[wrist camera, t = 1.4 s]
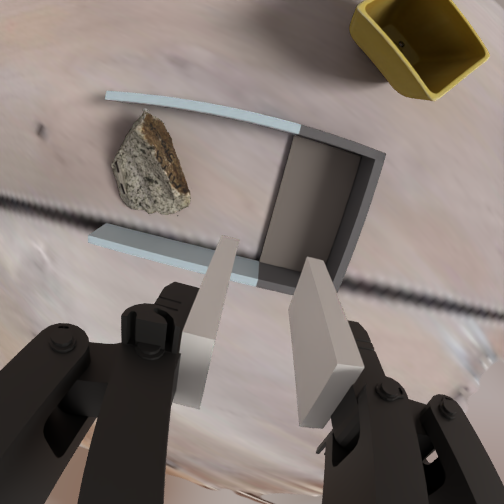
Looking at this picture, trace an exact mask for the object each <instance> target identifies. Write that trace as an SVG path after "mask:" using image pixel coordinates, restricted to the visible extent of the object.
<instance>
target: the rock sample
mask: <svg viewBox="0 0 504 504" xmlns="http://www.w3.org/2000/svg"><path fill="white" fill-rule="evenodd" d="M146 111H148V110H147V109H146V108H143V114H142V116H141V117H140V118H139V119H138V120H137V121H136V122H135V123H134V125H133V126H132V128H131V129H130V131H129V133H128V134H127V135H126V137H125V140H124V142H123V144H122V146H120V147H121V148H120V149H119V151H118V152H117V154H116V157H115V160H114V161H113V162H112V164H111V167H112V169H113V172H114V176H115V178H116V180H117V184H118V189H119V192H120V197H121V198H122V200H123V201H124V203H125V204H126V205H127V206H128V207H129V208H131V209H135V210H145V211H146V212H147V213H148V214H152V213H154V212H156V211H157V212H158V213H160V214H164V215H168V214H173V213H176V212H178V211H180V210H182V209H183V208H186V207H188V206H189V204H191V203H190V199H191V198H190V191H189V189H188V186H187V182H186V180H185V176H184V174H183V172H182V168H181V166H180V162H179V159H178V158H177V155H176V152H175V149H174V147H173V143H172V138H171V137H170V135H169V132H167V130H166V128H165V127H166V126H164V123H162V121H160V119H159V118H156V117H155V116H152V115H151V114H149V113H148V112H146ZM149 111H150V110H149ZM177 216H178V215H177Z"/></svg>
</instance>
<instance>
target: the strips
mask: <svg viewBox="0 0 504 504" xmlns="http://www.w3.org/2000/svg"><path fill="white" fill-rule="evenodd" d="M105 100H112V101H119V102H126V103H135V104H144V105H152V106H160V107H167V108H174V109H181V110H187V111H193V112H198V113H204V114H209V115H215V116H220V117H225V118H229V119H234V120H239V121H243V122H248V123H252V124H256V125H260V126H264V127H268V128H272V129H276V130H280V131H284V132H287V133H291V134H299V132H300V128H301V125H300V124H297V123H293V122H290V121H286V120H282V119H279V118H275V117H271V116H267V115H263V114H259V113H254V112H250V111H246V110H241V109H236V108H232V107H227V106H222V105H216V104H211V103H205V102H200V101H194V100H187V99H181V98H174V97H166V96H158V95H150V94H140V93H129V92H116V91H106V96H105ZM88 243H91V244H94V245H98V246H101V247H105V248H108V249H112V250H116V251H119V252H123V253H126V254H130V255H134V256H137V257H141V258H145V259H148V260H152V261H156V262H160V263H163V264H167V265H171V266H175V267H179V268H182V269H186V270H190V271H194V272H198V273H202V274H206V272H207V269H208V267H209V264H210V262H211V260H212V257H213V255H214V252H215V250H212V249H208V248H204V247H200V246H196V245H192V244H188V243H184V242H180V241H176V240H172V239H168V238H164V237H160V236H156V235H152V234H148V233H144V232H140V231H136V230H132V229H128V228H124V227H120V226H116V225H112V224H108V223H106V224H104V225H103V226H101V227H100V228H98V229H97V230H95V231H94V232H92V233H91V234H89V235H88ZM258 273H259V261H257V260H253V259H248V258H244V257H240V256H235V260H234V264H233V268H232V272H231V276H230V281H234V282H238V283H243V284H247V285H251V286H255V287H256V285H257V281H258Z"/></svg>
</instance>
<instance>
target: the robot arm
mask: <svg viewBox="0 0 504 504" xmlns="http://www.w3.org/2000/svg"><path fill="white" fill-rule="evenodd" d="M238 244H239V239H235V238H231V237H227V236H223V235H222V236H221V238H220V241H219V243H218V245H217V248H216V250H215V252H214V255H213V257H212V260H211V262H210V264H209V267H208V269H207V272H206V274H205V277H204V279H203V281H202V284H201V286H200V288H197V287H193V286H189V285H185V284H182V283H178V282H173V283H171V284H170V285H168V286H166V287H164V289H163V290H162V292H161V294H160V295H159V298H158V299H157V300H156V302H155V304H146V303H144V304H138V305H134V306H132V307H130V308H128V309H126V310H125V311H124V313H123V314H122V315H121V336H122V343H117V344H103V343H93V342H89V339H88V336H87V335H86V333H85V331H83V330H82V329H81V328H79V327H78V326H75V325H72V324H67V323H58V324H54V325H51V326H49V327H47V328H46V329H44V330H42V331H41V332H40V333H39V334H38V335H37V336H36V337H35V338H34V339H33V340H32V341H31V342H30V343H28V344H27V345H26V346H25V347H24V348H23V349H22V350H21V351H20V352H19V353H18V354H17V355H16V356H15V357H14V358H13V359H12V360H11V361H10V362H9V363H8V364H7V365H6V366H5V367H4V368H3V369H2V370H1V371H0V504H44V503H45V501H46V500H47V498H48V496H49V495H50V493H51V491H52V489H53V488H54V486H55V484H56V482H57V481H58V479H59V477H60V476H61V474H62V472H63V471H64V469H65V467H66V466H67V464H68V462H69V461H70V459H71V458H72V456H73V454H74V453H75V451H76V449H77V447H78V446H79V445H80V443H81V441H82V440H83V438H84V437H85V435H86V433H87V432H88V430H89V429H90V427H91V425H92V424H93V422H94V421H95V419H96V418H97V422H96V426H95V429H94V433H93V437H92V441H91V444H90V448H89V452H88V457H87V461H86V466H85V469H84V474H83V478H82V483H81V488H80V494H79V498H78V504H164V486H165V470H166V456H167V443H168V432H169V421H170V411H171V405H172V402H173V403H176V404H180V405H183V406H187V407H191V408H195V409H200V405H201V400H202V396H203V391H204V387H205V383H206V378H207V374H208V370H209V365H210V361H211V357H212V352H213V348H214V344H215V339H216V335H217V331H218V327H219V322H220V318H221V314H222V310H223V306H224V301H225V297H226V293H227V289H228V285H229V281H230V276H231V272H232V268H233V264H234V260H235V256H236V252H237V248H238ZM288 310H289V320H290V329H291V339H292V349H293V360H294V370H295V381H296V393H297V405H298V417H299V427H309V428H321V429H323V428H324V426H325V425H326V424H327V422H328V421H329V420H330V418H331V421H332V427H333V429H332V431H331V432H330V433H329V434H328V436H327V437H326V438H325V439H324V441H323V442H322V443H321V444H320V445H319V447H318V448H317V451H316V453H317V454H319V453H320V452H321V451H322V450H323V449H324V448H325V447H326V451H325V453H324V455H325V470H324V486H323V499H322V504H504V486H503V484H502V481H501V480H500V477H499V476H498V474H497V471H496V469H495V468H494V465H493V464H492V462H491V460H490V458H489V456H488V454H487V452H486V450H485V449H484V447H483V445H482V443H481V441H480V439H479V438H478V436H477V434H476V432H475V431H474V429H473V427H472V425H471V424H470V422H469V420H468V418H467V417H466V415H465V413H464V412H463V410H462V408H461V407H460V406H459V405H458V403H457V402H456V401H455V400H453V399H452V398H451V397H448V396H446V395H441V394H438V395H435V396H433V397H432V399H431V400H430V401H429V402H428V403H427V405H426V404H423V403H419V402H416V401H413V400H410V399H408V396H407V394H406V392H405V390H404V388H403V387H402V386H401V385H400V384H399V383H398V382H397V381H395V380H393V379H392V378H389V377H386V376H385V374H384V371H383V369H382V367H381V364H380V362H379V359H378V357H377V354H376V352H375V351H374V347H373V345H372V343H371V340H370V338H369V336H368V333H367V331H366V330H365V329H364V328H363V327H362V326H361V325H360V324H359V323H358V322H354V321H349V320H347V318H346V315H345V313H344V310H343V308H342V305H341V302H340V300H339V297H338V295H337V292H336V290H335V287H334V285H333V282H332V280H331V278H330V275H329V273H328V270H327V268H326V265H325V263H324V261H323V260H319V259H315V258H311V257H307V258H306V261H305V264H304V267H303V270H302V272H301V275H300V278H299V281H298V284H297V287H296V289H295V292H294V295H293V298H292V301H291V303H290V306H289V309H288ZM173 399H174V400H173ZM435 450H436V452H437V455H438V458H437V459H436V460H434V461H433V462H432V463H429V462H428V461H427V460H426V458H427V457H428V456H429V455H430V454H431V453H432V452H433V451H435Z"/></svg>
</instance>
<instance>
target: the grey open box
mask: <svg viewBox="0 0 504 504" xmlns="http://www.w3.org/2000/svg"><path fill="white" fill-rule="evenodd" d="M295 135H298V136H302V137H305V138H309V139H312V140H315V141H319V142H322V143H325V144H328V145H331V146H334V147H337V148H340V149H343V150H346V151H349V152H352V153H355V154H358V155H361V156H358V155H355V154H352V153H349V152H346V151H343V150H340V149H337V148H334V147H331V146H328V145H325V144H322V143H319V142H315V141H312V140H309V139H305V138H302V137H298V136H295ZM295 135H294V137H293V141H292V144H291V148H290V152H289V155H288V159H287V163H286V166H285V170H284V174H283V177H282V181H281V185H280V188H279V192H278V195H277V199H276V203H275V206H274V210H273V213H272V217H271V221H270V224H269V228H268V231H267V235H266V239H265V242H264V246H263V249H262V253H261V256H260V260H259V273H258V281H257V285H256V287H259V288H264V289H268V290H272V291H276V292H281V293H285V294H289V295H294V292H295V289H296V287H297V284H298V281H299V278H300V275H301V272H302V270H303V267H304V264H305V261H306V258H307V257H311V258H315V259H319V260H323V261H324V263H325V265H326V268H327V270H328V273H329V275H330V278H331V280H332V282H333V285H334V287H335V290H336V292H338V290H339V287H340V285H341V282H342V280H343V277H344V275H345V272H346V270H347V267H348V265H349V262H350V260H351V257H352V254H353V252H354V249H355V247H356V244H357V241H358V238H359V236H360V233H361V230H362V227H363V225H364V222H365V219H366V216H367V213H368V210H369V207H370V204H371V201H372V198H373V195H374V192H375V189H376V186H377V183H378V179H379V176H380V173H381V170H382V166H383V163H384V160H385V156H386V153H383V152H381V151H378V150H375V149H373V148H370V147H367V146H365V145H362V144H359V143H356V142H354V141H351V140H348V139H345V138H342V137H339V136H336V135H333V134H330V133H327V132H324V131H321V130H317V129H314V128H311V127H307V126H304V125H301V128H300V132H299V134H295Z"/></svg>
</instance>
